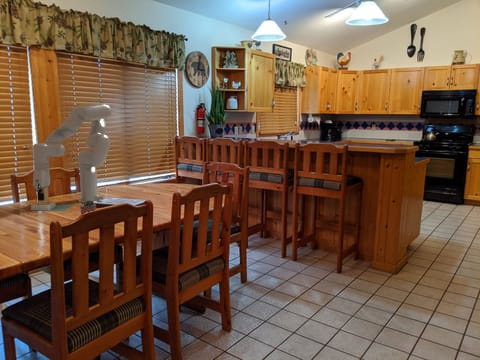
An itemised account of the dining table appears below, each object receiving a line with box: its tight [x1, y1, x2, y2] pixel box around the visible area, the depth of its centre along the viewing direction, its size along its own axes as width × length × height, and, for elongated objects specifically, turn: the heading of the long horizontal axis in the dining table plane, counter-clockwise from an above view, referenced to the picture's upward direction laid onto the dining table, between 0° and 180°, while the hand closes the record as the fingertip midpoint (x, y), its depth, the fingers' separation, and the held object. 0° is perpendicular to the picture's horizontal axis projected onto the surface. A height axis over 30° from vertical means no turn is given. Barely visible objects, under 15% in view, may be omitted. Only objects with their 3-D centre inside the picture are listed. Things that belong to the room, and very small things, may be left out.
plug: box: [36, 186, 50, 205], centre depth 206 cm, size 5×4×10 cm
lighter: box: [79, 200, 97, 215], centre depth 190 cm, size 8×3×10 cm, turn 141°
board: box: [30, 201, 75, 212], centre depth 209 cm, size 18×14×4 cm
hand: (43, 199), depth 206 cm, fingers closed on plug, 4 cm apart
